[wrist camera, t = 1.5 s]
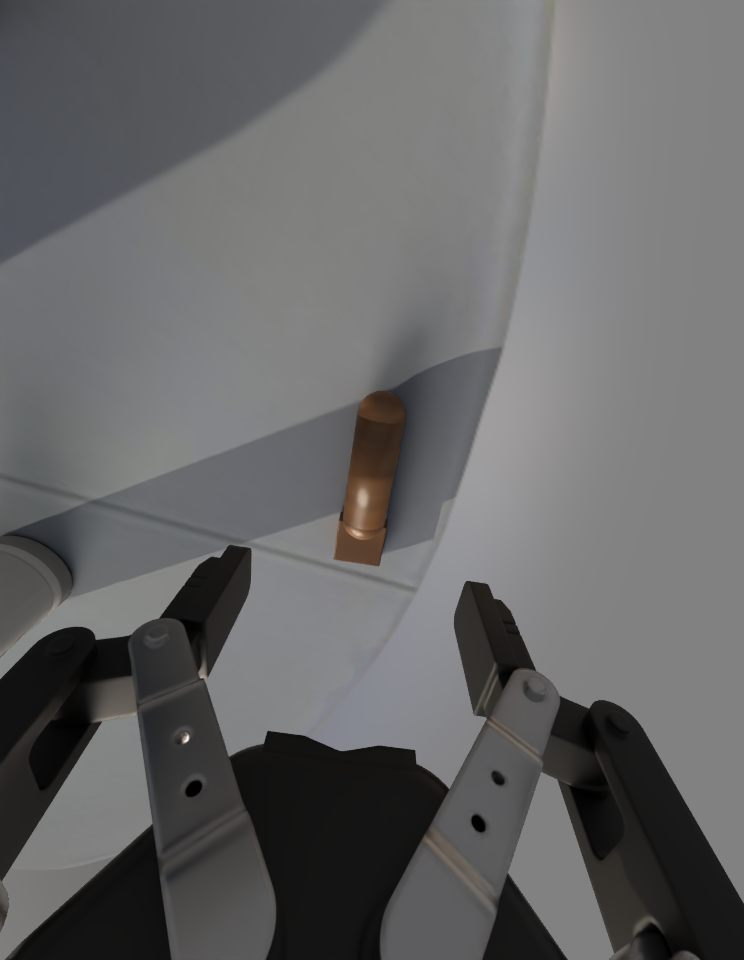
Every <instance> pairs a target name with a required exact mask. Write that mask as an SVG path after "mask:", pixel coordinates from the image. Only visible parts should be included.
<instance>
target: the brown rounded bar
mask: <svg viewBox="0 0 744 960" xmlns="http://www.w3.org/2000/svg"><path fill="white" fill-rule="evenodd" d="M405 421H406V410H405V407H404V405H403V403H402V401H401V400H400V399H399V398H398V397H397V396H396V395H394V394H392V393H390V392H387V391H377V392H374V393H371V394H369V395H368V396H367V397H365V398H364V400H363V401H362V402H361V404H360V406H359V409H358V413H357V420H356V427H355V434H354V441H353V448H352V455H351V462H350V469H349V476H348V483H347V490H346V497H345V504H344V511H343V512H341V514H340V519H339V524H338V532H337V539H336V546H335V553H334V560H340V561H347V562H353V563H360V564H366V565H373V566H379V565H380V560H381V555H382V550H383V545H384V540H385V535H386V530H387V519H386V516H387V511H388V506H389V501H390V496H391V491H392V486H393V481H394V476H395V471H396V466H397V461H398V456H399V451H400V446H401V441H402V436H403V431H404V426H405Z"/></svg>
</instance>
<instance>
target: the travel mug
mask: <svg viewBox="0 0 744 960" xmlns="http://www.w3.org/2000/svg"><path fill="white" fill-rule="evenodd" d="M71 589H72V578H71V574H70V572H69V570H68V568H67V567H66V565H65V564H64V562H63V561H62V560H61V559H60V558H59V557H58V556H57V555H56V554H55V553H54V552H53V551H51V550H50V549H49V548H47V547H45V546H44V545H42V544H40V543H38V542H36V541H33V540H31V539H27V538H24V537H18V536H1V537H0V657H1V656H3V655H4V654H5V653H6V652H7V651H8V650H9V649H10V648H12V647H13V646H14V645H15V644H16V643H17V642H18V641H19V640H21V639H22V638H23V637H24V636H25V635H26V634H27V633H28V632H30V631H31V630H32V629H33V628H34V627H35V626H36V625H37V624H39V623H40V622H41V621H42V620H43V619H44V618H45V617H46V616H48V614H49V613H50V612H52V611H53V610H54V609H55V608H57V607H58V606H59V605H60V604H61V603H62V602H63V601H64V600H66V599H67V597H68V596H69V595H70V592H71Z"/></svg>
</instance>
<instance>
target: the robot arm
mask: <svg viewBox="0 0 744 960" xmlns="http://www.w3.org/2000/svg"><path fill="white" fill-rule="evenodd" d="M250 583H251V548H247V547H240V546H234V545H229V546H228V547H227V549H226V550H225V552H224V553H223V554H222V556H221V557H220V558H217V557H210V558H209V559H207V560H206V561H204V562H203V563H201V564H199V565H198V567H197V568H196V569H195V571H194V572H193V574H192V575H191V577H190V578H189V579H188V580H187V582H186V583H185V586H183V587H182V588H181V590H180V591H179V592H178V594H177V595H176V596H175V598H174V599H173V600H172V602H171V603H170V604H169V606H168V607H167V608H166V610H165V611H164V613H163V614H162V615H161V617H160V618H159V619H155V620H152V621H149V622H147V623H145V624H143V625H142V626H140V627H139V628H138V629H136V630H135V631H134V632H133V634H132V635H129V636H124V637H117V638H109V639H100V640H96V639H95V635H94V633H93V632H92V631H91V630H90V629H87V628H84V627H69V628H64V629H61V630H58V631H55V632H53V633H51V634H49V635H47V636H45V637H43V638H42V639H41V640H39V641H38V642H37V643H36V644H34V645H33V646H32V647H31V648H30V649H29V650H28V651H27V653H26V654H25V655H24V656H23V657H22V658H21V659H20V660H19V661H18V662H17V663H16V664H15V665H14V666H13V667H12V668H11V669H10V670H9V671H8V672H7V673H6V674H5V675H4V676H3V677H2V678H1V679H0V931H1V929H2V927H3V925H4V922H5V919H6V917H7V913H8V908H9V897H8V893H7V891H6V889H5V887H4V885H3V883H2V880H3V878H4V877H5V875H6V873H7V872H8V871H9V869H10V867H11V866H12V864H13V863H14V861H15V859H16V858H17V856H18V855H19V853H20V851H21V850H22V848H23V847H24V845H25V843H26V842H27V840H28V839H29V837H30V836H31V834H32V832H33V831H34V829H35V828H36V826H37V824H38V823H39V821H40V820H41V818H42V816H43V815H44V813H45V812H46V810H47V809H48V807H49V805H50V804H51V802H52V801H53V799H54V797H55V796H56V794H57V793H58V791H59V789H60V788H61V786H62V785H63V783H64V781H65V780H66V778H67V777H68V775H69V774H70V772H71V770H72V769H73V767H74V766H75V764H76V762H77V761H78V759H79V758H80V756H81V754H82V753H83V751H84V750H85V748H86V746H87V745H88V743H89V742H90V740H91V739H92V737H93V735H94V734H95V732H96V731H97V729H98V727H99V726H100V724H101V723H102V721H105V720H110V719H115V718H121V717H126V716H132V715H138V722H139V729H140V736H141V744H142V751H143V758H144V765H145V772H146V779H147V786H148V794H149V801H150V808H151V815H152V822H153V824H152V825H151V826H150V827H148V828H147V829H146V830H145V831H144V832H143V833H142V834H141V835H140V836H138V837H137V838H136V839H135V840H134V841H133V842H132V843H131V844H130V845H128V846H127V847H126V848H125V849H124V850H123V851H122V852H121V853H120V854H119V855H117V856H116V857H115V858H114V859H113V860H112V861H111V862H110V863H109V864H107V865H106V866H105V867H104V868H103V869H102V870H101V871H100V872H99V873H98V874H96V875H95V877H93V878H92V879H91V880H90V881H89V882H88V883H86V884H85V885H84V886H83V887H82V888H81V889H80V890H79V891H78V892H77V893H76V894H74V895H73V896H72V897H71V898H70V899H69V900H68V901H66V902H65V903H64V904H63V905H62V906H61V907H60V908H59V909H58V910H57V911H55V912H54V913H53V914H52V915H51V916H50V917H49V918H48V919H47V920H45V921H44V922H43V923H42V924H41V925H40V926H39V927H38V928H37V929H36V930H34V931H33V932H32V933H31V934H30V935H29V936H28V937H27V938H26V939H24V940H23V941H22V942H21V943H20V944H19V945H18V946H17V947H16V948H15V950H14V951H12V953H11V954H10V955H9V956H8V957H7V958H6V959H5V960H568V959H567V958H566V957H565V955H564V954H563V952H562V951H561V949H560V948H559V946H558V945H557V944H556V942H555V941H554V939H553V938H552V936H551V935H550V933H549V932H548V930H547V929H546V928H545V926H544V925H543V923H542V922H541V920H540V919H539V917H538V916H537V914H536V913H535V912H534V910H533V909H532V907H531V906H530V904H529V903H528V901H527V900H526V899H525V897H524V896H523V894H522V893H521V891H520V890H519V888H518V887H517V885H516V884H515V883H514V881H513V880H512V878H511V877H510V875H509V874H508V870H509V867H510V864H511V861H512V858H513V855H514V852H515V849H516V846H517V843H518V840H519V837H520V834H521V831H522V828H523V825H524V822H525V819H526V816H527V813H528V810H529V807H530V804H531V800H532V797H533V794H534V791H535V788H536V785H537V782H538V779H539V776H540V773H541V772H543V773H545V774H547V775H549V776H551V777H554V778H555V779H557V780H558V783H559V786H560V789H561V792H562V795H563V798H564V801H565V804H566V807H567V810H568V813H569V816H570V819H571V823H572V825H573V829H574V831H575V835H576V838H577V841H578V844H579V847H580V850H581V853H582V856H583V859H584V862H585V865H586V868H587V872H588V875H589V878H590V881H591V884H592V887H593V890H594V893H595V896H596V899H597V902H598V905H599V908H600V911H601V914H602V917H603V920H604V924H605V927H606V930H607V933H608V936H609V939H610V942H611V945H612V948H613V951H614V955H612V957H611V958H610V959H609V960H744V903H743V902H742V900H741V898H740V897H739V895H738V893H737V892H736V890H735V888H734V886H733V884H732V883H731V881H730V879H729V878H728V876H727V874H726V872H725V870H724V869H723V867H722V865H721V863H720V862H719V860H718V858H717V857H716V855H715V854H714V851H713V850H712V848H711V846H710V845H709V843H708V841H707V839H706V838H705V836H704V834H703V832H702V831H701V829H700V827H699V825H698V824H697V822H696V820H695V818H694V817H693V815H692V813H691V811H690V810H689V808H688V806H687V805H686V803H685V801H684V799H683V798H682V796H681V794H680V792H679V791H678V789H677V787H676V785H675V784H674V782H673V780H672V779H671V777H670V775H669V773H668V772H667V770H666V768H665V766H664V765H663V763H662V761H661V759H660V758H659V756H658V754H657V752H656V751H655V749H654V747H653V745H652V744H651V742H650V740H649V739H648V737H647V735H646V733H645V732H644V730H643V728H642V727H641V725H640V724H639V723H638V722H637V720H636V719H635V718H634V717H633V716H632V715H631V714H630V713H629V712H627V711H626V710H625V709H623V708H622V707H620V706H618V705H616V704H614V703H612V702H609V701H605V700H599V701H595V702H594V703H593V704H592V705H591V707H590V709H588V708H586V707H584V706H581V705H579V704H577V703H574V702H572V701H569V700H567V699H565V698H563V697H561V696H559V694H558V692H557V690H556V688H555V686H554V685H553V684H552V683H551V682H550V681H549V680H548V679H547V678H546V677H545V676H543V675H542V674H540V673H538V672H537V671H536V669H535V667H534V665H533V662H532V660H531V658H530V655H529V653H528V651H527V648H526V646H525V644H524V641H523V639H522V637H521V635H520V632H519V630H518V627H517V626H516V625H515V624H516V623H515V620H514V618H513V616H512V614H511V611H510V610H509V609H508V608H507V607H506V606H505V604H504V603H503V602H502V601H501V600H497V599H494V598H493V596H492V593H491V590H490V588H489V586H488V584H485V583H478V582H471V581H466V583H465V584H464V587H463V590H462V593H461V596H460V599H459V602H458V605H457V608H456V611H455V616H454V629H455V634H456V638H457V642H458V647H459V651H460V656H461V660H462V665H463V669H464V673H465V678H466V682H467V687H468V691H469V696H470V700H471V704H472V708H473V713H474V715H477V716H483V717H486V718H487V720H486V722H485V724H484V726H483V727H482V729H481V731H480V733H479V735H478V737H477V739H476V741H475V742H474V744H473V746H472V748H471V750H470V752H469V754H468V755H467V757H466V759H465V761H464V763H463V765H462V767H461V769H460V771H459V772H458V774H457V776H456V778H455V780H454V782H453V784H452V786H451V788H450V789H449V788H448V787H447V786H446V785H445V784H444V783H443V782H442V781H441V780H440V779H439V778H438V777H436V776H435V775H434V774H433V773H431V772H430V771H428V770H427V769H425V768H423V767H422V766H419V765H417V764H416V754H415V750H410V749H402V748H394V747H386V746H374V747H367V748H361V749H355V750H349V751H338V750H335V749H333V748H331V747H329V746H326V745H324V744H322V743H320V742H317V741H315V740H313V739H311V738H308V737H306V736H302V735H294V734H287V733H279V732H271V731H267V735H266V739H265V742H264V744H261V745H256V746H252V747H249V748H246V749H244V750H242V751H239V752H237V753H235V754H234V755H232V756H230V757H229V756H228V753H227V750H226V746H225V743H224V740H223V737H222V734H221V730H220V727H219V724H218V721H217V718H216V714H215V711H214V708H213V705H212V702H211V698H210V695H209V692H208V689H207V686H206V683H205V681H204V679H203V678H208V676H209V674H210V672H211V670H212V668H213V666H214V664H215V662H216V660H217V658H218V656H219V654H220V652H221V650H222V648H223V646H224V644H225V642H226V639H227V637H228V635H229V633H230V631H231V629H232V627H233V625H234V623H235V621H236V619H237V617H238V615H239V613H240V611H241V609H242V607H243V605H244V602H245V600H246V598H247V596H248V593H249V589H250ZM200 677H202V679H200Z"/></svg>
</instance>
